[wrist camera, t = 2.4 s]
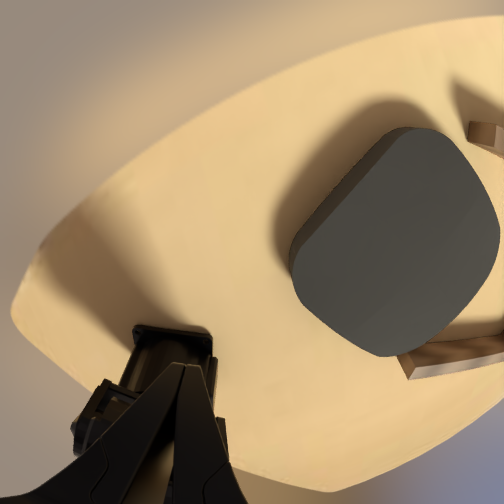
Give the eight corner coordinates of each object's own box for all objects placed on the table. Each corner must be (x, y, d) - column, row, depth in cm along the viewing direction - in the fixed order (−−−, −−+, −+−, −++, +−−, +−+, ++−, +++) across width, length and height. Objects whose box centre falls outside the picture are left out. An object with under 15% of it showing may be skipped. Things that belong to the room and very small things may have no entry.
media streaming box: (406, 102, 15) (430, 101, 12) (494, 237, 19) (514, 251, 16) (263, 263, 20) (265, 286, 17) (385, 351, 23) (396, 374, 21)
